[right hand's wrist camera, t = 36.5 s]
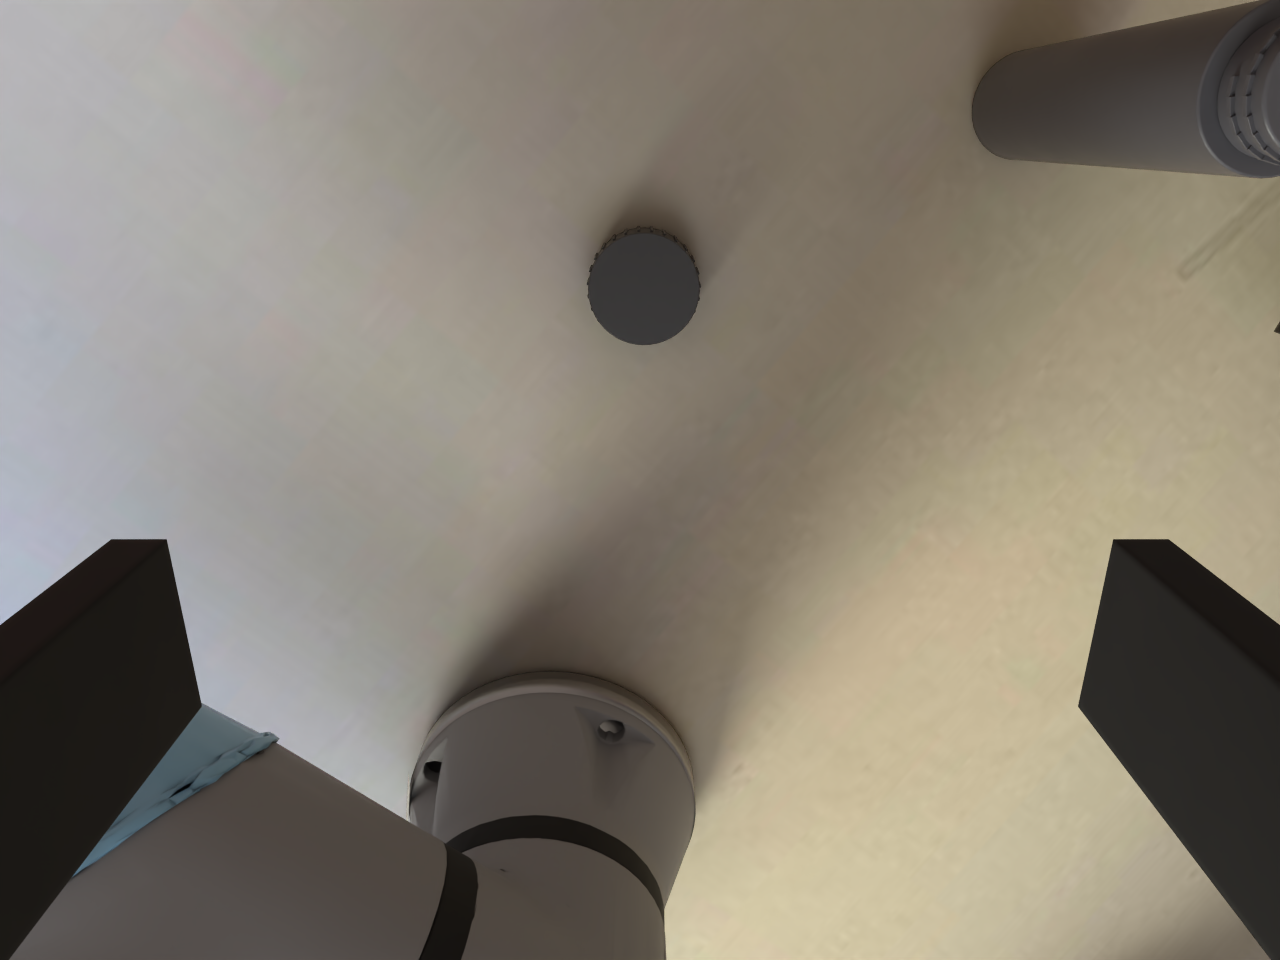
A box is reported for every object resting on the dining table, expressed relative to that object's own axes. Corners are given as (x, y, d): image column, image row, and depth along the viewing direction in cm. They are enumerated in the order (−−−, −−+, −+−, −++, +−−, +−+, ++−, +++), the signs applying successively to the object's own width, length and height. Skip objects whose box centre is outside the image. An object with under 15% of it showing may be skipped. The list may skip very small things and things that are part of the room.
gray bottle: (993, 178, 38) (1272, 215, 21) (955, 85, 37) (1220, 47, 20) (1088, 126, 37) (1453, 121, 20) (1053, 28, 36) (1412, -61, 19)
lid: (666, 205, 38) (667, 208, 36) (717, 304, 40) (721, 312, 38) (568, 260, 39) (565, 266, 37) (622, 355, 41) (621, 366, 39)
